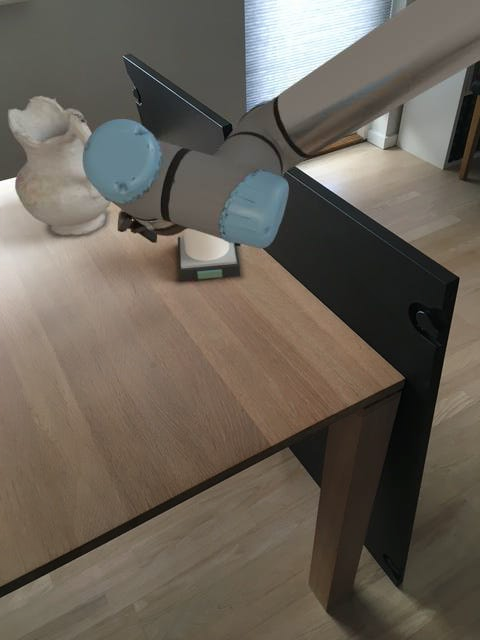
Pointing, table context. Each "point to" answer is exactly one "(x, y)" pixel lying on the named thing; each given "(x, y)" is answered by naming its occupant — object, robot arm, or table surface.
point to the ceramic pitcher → (56, 168)
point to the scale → (207, 264)
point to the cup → (204, 245)
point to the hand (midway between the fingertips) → (196, 236)
